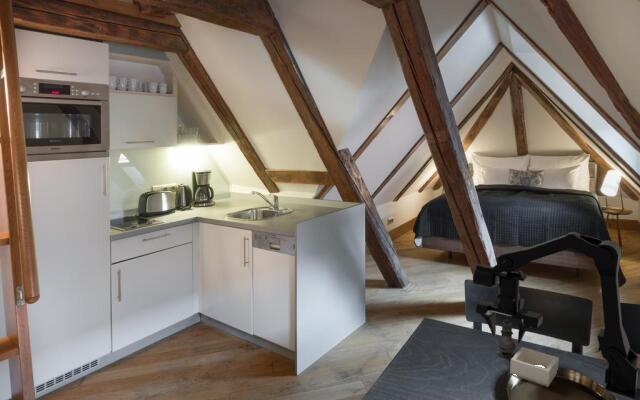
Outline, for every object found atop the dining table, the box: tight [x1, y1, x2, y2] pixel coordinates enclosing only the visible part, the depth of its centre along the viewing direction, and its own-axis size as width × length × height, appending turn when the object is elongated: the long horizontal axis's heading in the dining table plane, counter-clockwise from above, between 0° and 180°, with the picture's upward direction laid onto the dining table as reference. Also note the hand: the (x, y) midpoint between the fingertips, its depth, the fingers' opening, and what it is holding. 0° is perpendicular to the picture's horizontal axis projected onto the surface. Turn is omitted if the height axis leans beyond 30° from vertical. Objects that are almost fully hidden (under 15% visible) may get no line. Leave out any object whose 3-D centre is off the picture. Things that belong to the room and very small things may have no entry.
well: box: [509, 346, 560, 388], centre depth 124 cm, size 10×10×4 cm
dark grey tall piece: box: [496, 318, 517, 360], centre depth 134 cm, size 6×6×12 cm
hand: (506, 339), depth 134 cm, fingers open, 7 cm apart
